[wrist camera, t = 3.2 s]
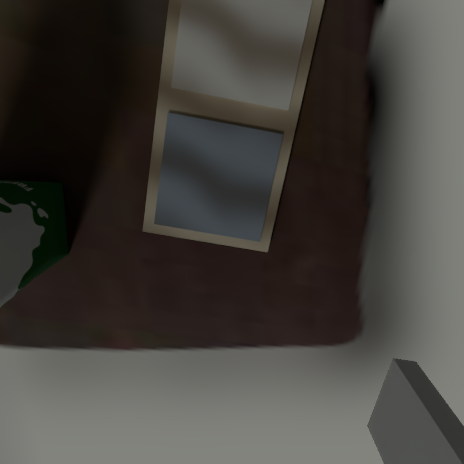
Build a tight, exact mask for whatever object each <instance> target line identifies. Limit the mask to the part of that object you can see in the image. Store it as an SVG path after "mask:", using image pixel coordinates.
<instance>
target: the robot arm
mask: <svg viewBox="0 0 464 464" xmlns="http://www.w3.org/2000/svg"><path fill="white" fill-rule="evenodd" d="M367 426H368V428H369V430H370V433H371V435H372V437H373V440H374V442H375V444H376V446H377V448H378V451H379V453H380V456H381V458H382V460H383V462H384V464H464V426H463V425H462V423H461V422H460V421H459V419H458V418H457V417H456V415H455V414H454V413H453V411H452V410H451V409H450V407H449V406H448V404H447V403H446V402H445V400H444V399H443V398H442V396H441V395H440V394H439V392H438V391H437V390H436V388H435V387H434V385H433V384H432V383H431V381H430V380H429V379H428V377H427V376H426V375H425V373H424V372H423V371H422V369H421V368H420V367H419V365H418V364H417V362H414V361H408V360H401V359H394V358H393V360H392V362H391V365H390V367H389V370H388V373H387V375H386V378H385V381H384V383H383V386H382V389H381V391H380V394H379V397H378V399H377V402H376V404H375V407H374V410H373V412H372V415H371V417H370V420H369V423H368V425H367Z"/></svg>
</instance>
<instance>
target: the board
mask: <svg viewBox="0 0 464 464" xmlns="http://www.w3.org/2000/svg"><path fill="white" fill-rule="evenodd" d="M324 1H325V0H169V7H168V15H167V24H166V33H165V41H164V50H163V59H162V68H161V76H160V85H159V94H158V103H157V111H156V120H155V129H154V137H153V146H152V155H151V164H150V172H149V181H148V190H147V199H146V207H145V216H144V225H143V232H149V233H155V234H161V235H167V236H173V237H179V238H185V239H191V240H197V241H203V242H209V243H215V244H221V245H227V246H233V247H239V248H245V249H251V250H257V251H263V252H268V248H269V244H270V239H271V235H272V230H273V226H274V222H275V217H276V213H277V208H278V204H279V200H280V195H281V191H282V186H283V182H284V178H285V173H286V169H287V164H288V160H289V155H290V151H291V147H292V142H293V138H294V133H295V129H296V125H297V120H298V116H299V111H300V107H301V103H302V98H303V94H304V89H305V85H306V81H307V76H308V72H309V67H310V63H311V58H312V54H313V50H314V45H315V41H316V36H317V32H318V28H319V23H320V19H321V14H322V10H323V6H324Z"/></svg>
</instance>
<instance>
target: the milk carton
mask: <svg viewBox="0 0 464 464" xmlns="http://www.w3.org/2000/svg"><path fill="white" fill-rule="evenodd" d="M67 254H69V250H68V239H67V228H66V217H65V205H64V194H63V183H57V182H36V181H15V180H0V308H1V307H2V306H3V305H4V304H5V303H6V302H7V301H9V300H10V299H11V298H12V297H13V296H14V295H15V294H17V293H18V292H19V291H20V290H21V289H22V288H23V287H25V286H26V285H27V284H28V283H29V282H30V281H31V280H33V279H34V278H35V277H37V276H38V275H40V274H41V273H42V272H44V271H45V270H47V269H48V268H49V267H51V266H52V265H53V264H55V263H56V262H58V261H59V260H60V259H62V258H63V257H65V256H66V255H67Z"/></svg>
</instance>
